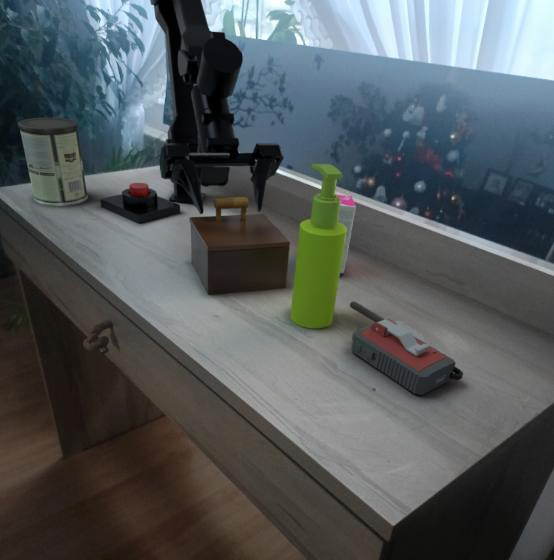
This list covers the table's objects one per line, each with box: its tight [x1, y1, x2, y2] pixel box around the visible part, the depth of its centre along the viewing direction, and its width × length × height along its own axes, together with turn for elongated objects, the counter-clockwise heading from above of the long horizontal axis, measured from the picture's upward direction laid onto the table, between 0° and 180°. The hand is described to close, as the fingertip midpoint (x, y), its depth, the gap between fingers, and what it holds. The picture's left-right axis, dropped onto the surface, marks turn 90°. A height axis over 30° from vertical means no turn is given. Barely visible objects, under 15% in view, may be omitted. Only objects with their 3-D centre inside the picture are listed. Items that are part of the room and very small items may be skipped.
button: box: [128, 182, 150, 196], centre depth 99 cm, size 4×4×2 cm
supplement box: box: [317, 192, 357, 277], centre depth 82 cm, size 6×6×12 cm
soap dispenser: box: [290, 163, 347, 330], centre depth 66 cm, size 6×7×20 cm
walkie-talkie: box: [349, 300, 464, 396], centre depth 65 cm, size 9×4×20 cm
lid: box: [189, 196, 291, 252], centre depth 76 cm, size 12×12×4 cm
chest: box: [190, 224, 290, 296], centre depth 79 cm, size 11×12×7 cm
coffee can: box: [17, 117, 89, 207], centre depth 99 cm, size 10×10×14 cm
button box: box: [99, 188, 181, 225], centre depth 100 cm, size 10×12×4 cm
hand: (231, 211), depth 79 cm, fingers open, 9 cm apart
